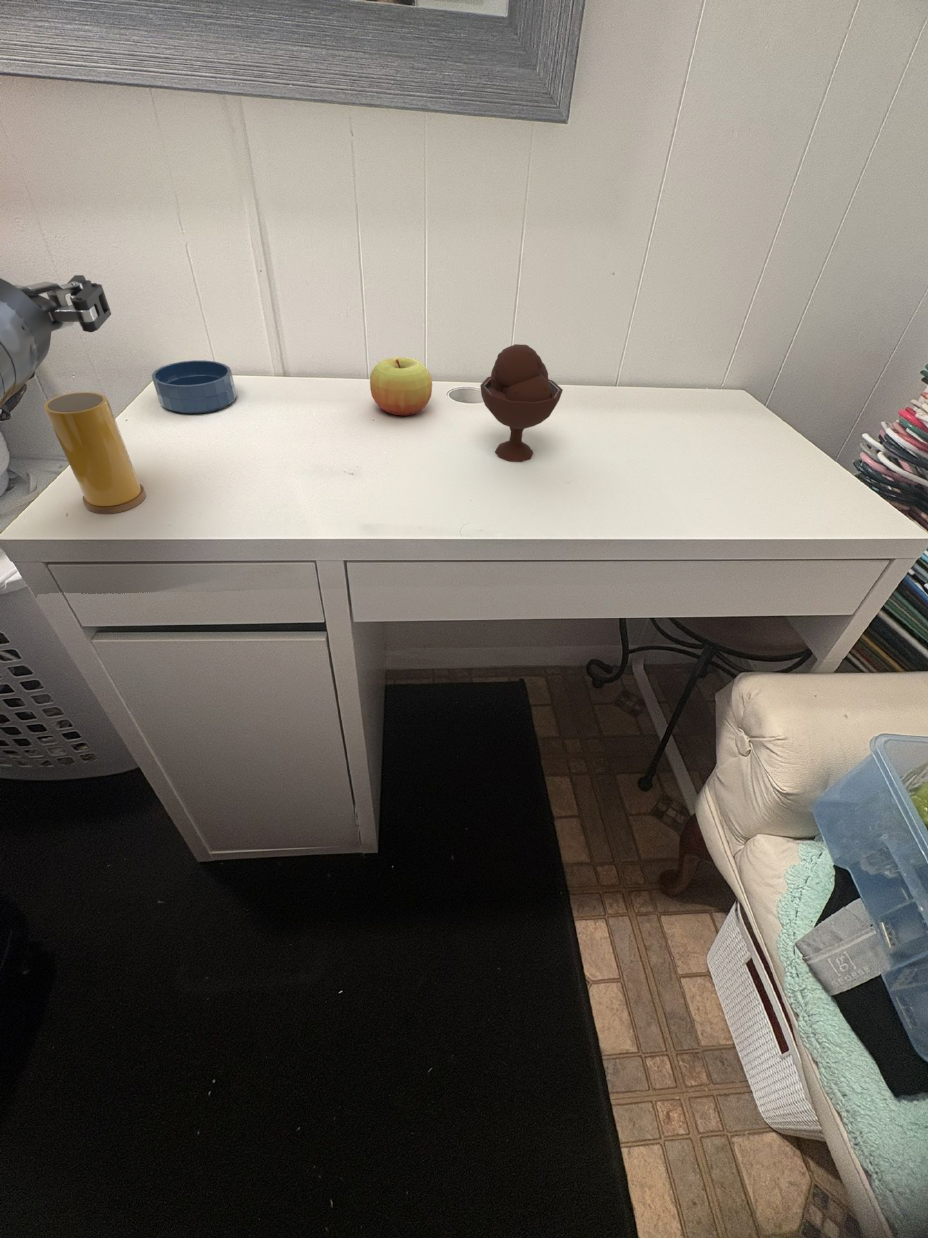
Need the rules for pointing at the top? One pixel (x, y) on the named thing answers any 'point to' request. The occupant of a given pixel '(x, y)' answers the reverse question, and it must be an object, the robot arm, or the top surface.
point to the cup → (93, 447)
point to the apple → (401, 385)
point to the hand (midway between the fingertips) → (35, 287)
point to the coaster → (116, 508)
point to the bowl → (194, 386)
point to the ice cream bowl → (519, 397)
